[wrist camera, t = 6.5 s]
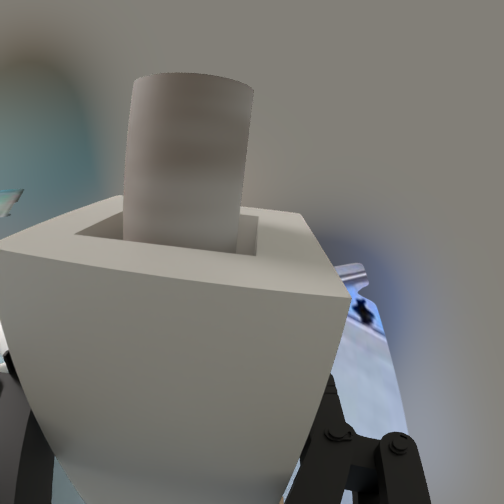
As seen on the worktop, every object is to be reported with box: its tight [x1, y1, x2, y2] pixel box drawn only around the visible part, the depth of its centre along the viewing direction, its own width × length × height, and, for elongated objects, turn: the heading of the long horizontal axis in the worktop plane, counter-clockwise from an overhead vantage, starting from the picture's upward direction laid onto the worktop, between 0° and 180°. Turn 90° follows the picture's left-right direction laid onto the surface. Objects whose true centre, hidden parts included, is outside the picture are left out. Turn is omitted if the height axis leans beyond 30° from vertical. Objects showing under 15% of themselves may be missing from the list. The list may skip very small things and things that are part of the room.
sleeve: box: [0, 195, 352, 504], centre depth 10 cm, size 7×7×12 cm
